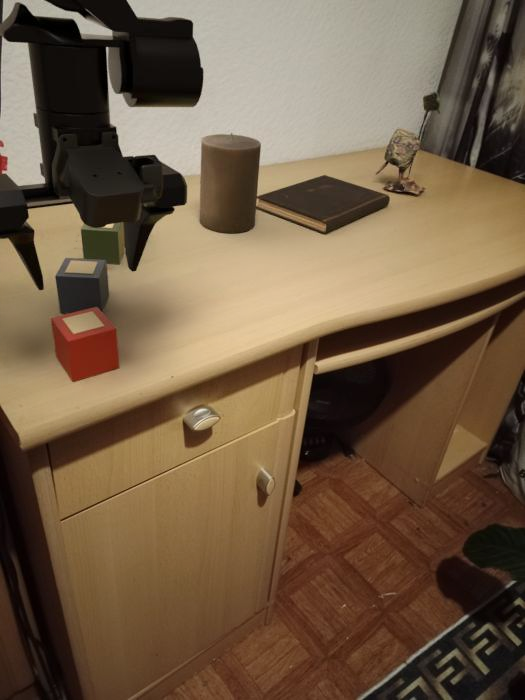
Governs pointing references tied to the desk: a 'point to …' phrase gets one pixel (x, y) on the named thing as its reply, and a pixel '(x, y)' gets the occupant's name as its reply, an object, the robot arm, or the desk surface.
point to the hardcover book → (322, 203)
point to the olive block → (103, 242)
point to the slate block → (82, 284)
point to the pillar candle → (229, 182)
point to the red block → (85, 343)
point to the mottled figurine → (407, 150)
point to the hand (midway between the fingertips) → (88, 278)
